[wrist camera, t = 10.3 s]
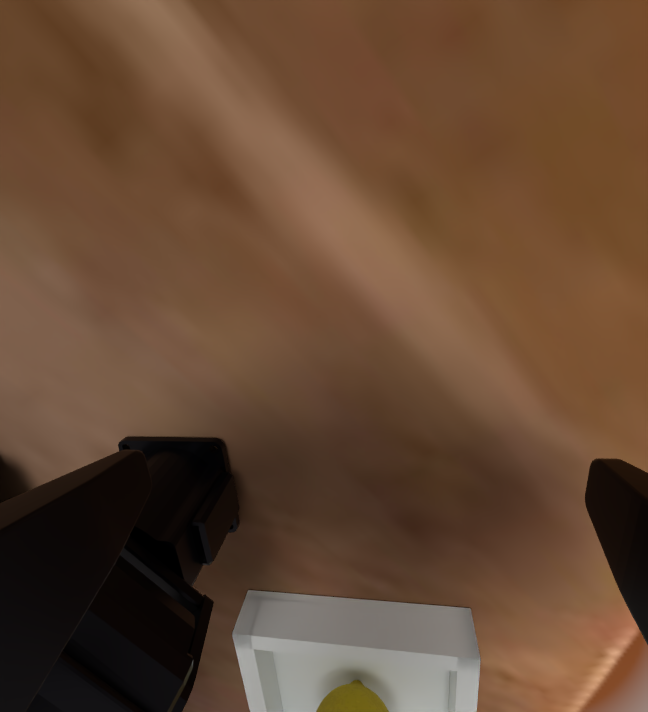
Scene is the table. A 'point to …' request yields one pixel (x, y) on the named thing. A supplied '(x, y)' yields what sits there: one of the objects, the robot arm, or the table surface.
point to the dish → (355, 652)
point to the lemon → (352, 699)
